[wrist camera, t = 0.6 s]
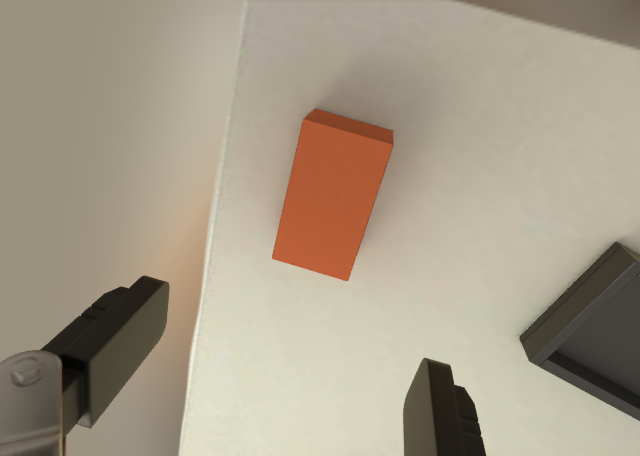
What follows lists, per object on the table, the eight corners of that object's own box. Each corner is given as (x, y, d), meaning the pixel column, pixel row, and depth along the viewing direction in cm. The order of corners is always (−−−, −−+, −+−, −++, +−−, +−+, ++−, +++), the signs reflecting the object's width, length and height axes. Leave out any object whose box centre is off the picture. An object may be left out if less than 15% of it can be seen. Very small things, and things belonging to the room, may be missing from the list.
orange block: (314, 108, 25) (303, 118, 22) (393, 130, 25) (393, 144, 22) (284, 235, 29) (271, 259, 26) (352, 255, 29) (347, 281, 26)
